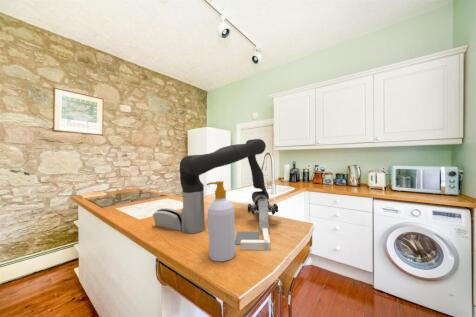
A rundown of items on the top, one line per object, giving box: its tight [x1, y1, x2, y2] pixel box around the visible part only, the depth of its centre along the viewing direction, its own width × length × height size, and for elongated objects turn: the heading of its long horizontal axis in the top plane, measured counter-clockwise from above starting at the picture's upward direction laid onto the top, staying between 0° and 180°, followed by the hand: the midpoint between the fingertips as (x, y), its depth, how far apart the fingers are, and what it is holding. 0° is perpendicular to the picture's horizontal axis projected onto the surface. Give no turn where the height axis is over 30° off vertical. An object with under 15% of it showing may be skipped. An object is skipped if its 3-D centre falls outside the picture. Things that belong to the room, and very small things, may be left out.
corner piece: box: [240, 228, 272, 251], centre depth 66 cm, size 10×12×2 cm
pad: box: [235, 231, 260, 246], centre depth 69 cm, size 9×11×1 cm
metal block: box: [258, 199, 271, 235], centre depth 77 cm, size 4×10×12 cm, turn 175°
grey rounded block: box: [152, 207, 182, 232], centre depth 83 cm, size 17×5×10 cm, turn 64°
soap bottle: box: [206, 180, 237, 262], centre depth 57 cm, size 9×9×24 cm
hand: (263, 212), depth 78 cm, fingers open, 8 cm apart
